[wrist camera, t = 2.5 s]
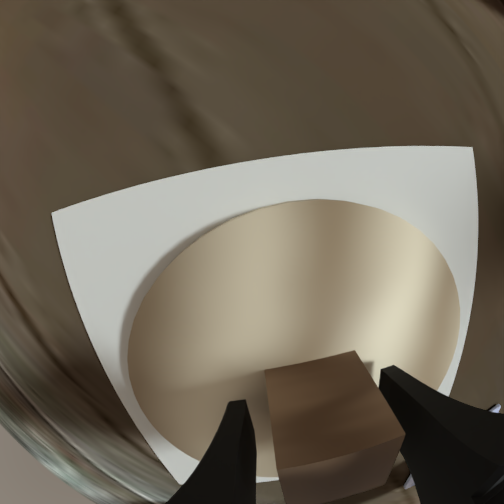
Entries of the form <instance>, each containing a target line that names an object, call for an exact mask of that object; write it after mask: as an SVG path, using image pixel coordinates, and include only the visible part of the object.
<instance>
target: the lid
mask: <svg viewBox="0 0 504 504" xmlns="http://www.w3.org/2000/svg"><path fill="white" fill-rule="evenodd" d="M459 329H460V304H459V296H458V291H457V287H456V284H455V280H454V277H453V274H452V272H451V270H450V268H449V266H448V264H447V262H446V260H445V258H444V257H443V255H442V254H441V253H440V251H439V250H438V249H437V247H436V246H435V244H434V243H433V242H432V241H431V240H429V239H428V238H427V237H426V236H425V235H424V234H423V233H422V232H421V231H420V230H419V229H417V228H416V227H414V226H413V225H411V224H410V223H408V222H407V221H405V220H404V219H402V218H400V217H398V216H395V215H393V214H391V213H388V212H386V211H384V210H381V209H379V208H375V207H371V206H367V205H362V204H358V203H354V202H349V201H343V200H328V199H308V200H296V201H287V202H282V203H278V204H274V205H269V206H265V207H261V208H258V209H255V210H252V211H250V212H247V213H245V214H242V215H239V216H237V217H234V218H232V219H230V220H228V221H226V222H224V223H223V224H221V225H219V226H217V227H215V228H214V229H212V230H210V231H208V232H207V233H205V234H203V235H202V236H201V237H200V238H198V239H197V240H196V241H194V242H193V243H192V244H190V245H189V246H188V247H187V248H185V249H184V250H183V251H182V252H181V253H180V254H179V255H178V256H177V257H176V258H175V259H174V260H173V261H172V262H171V263H170V264H169V265H168V266H167V267H166V268H165V270H164V271H163V272H162V273H161V274H160V275H159V276H158V278H157V279H156V281H155V282H154V284H153V285H152V286H151V288H150V289H149V291H148V292H147V294H146V295H145V297H144V298H143V300H142V303H141V305H140V307H139V309H138V311H137V314H136V316H135V318H134V321H133V325H132V328H131V332H130V336H129V342H128V356H127V362H128V371H129V379H130V382H131V386H132V389H133V392H134V395H135V397H136V400H137V402H138V404H139V406H140V408H141V410H142V411H143V413H144V414H145V416H146V417H147V419H148V420H149V422H150V423H151V424H152V426H153V427H154V428H155V429H156V430H157V431H158V432H159V433H160V434H161V435H162V436H163V437H164V438H165V439H166V440H167V441H168V442H170V443H171V444H172V445H173V446H175V447H176V448H177V449H179V450H180V451H182V452H184V453H185V454H187V455H188V456H190V457H192V458H194V459H196V460H198V461H201V459H202V458H203V456H204V454H205V452H206V451H207V449H208V447H209V446H210V444H211V442H212V440H213V438H214V436H215V434H216V432H217V430H218V427H219V425H220V423H221V420H222V418H223V415H224V413H225V410H226V407H227V404H228V403H229V402H230V401H236V400H244V399H246V402H247V406H248V409H249V413H250V416H251V420H252V423H253V427H254V430H255V439H256V449H257V467H256V476H257V477H279V481H280V484H281V488H282V492H283V495H284V499H285V502H286V504H321V503H325V502H330V501H334V500H337V499H341V498H345V497H348V496H352V495H355V494H358V493H361V492H364V491H367V490H370V489H373V488H376V487H379V486H382V485H384V484H385V483H386V481H387V479H388V476H389V474H390V472H391V470H392V467H393V465H394V463H395V460H396V458H397V456H398V453H399V451H400V448H401V445H402V443H403V440H404V437H405V432H404V430H403V428H402V427H401V425H400V423H399V422H398V420H397V418H396V416H395V415H394V413H393V411H392V410H391V408H390V406H389V405H388V403H387V401H386V400H385V398H384V396H383V395H382V393H381V391H380V390H379V388H378V387H379V379H380V370H381V369H383V368H386V367H389V366H392V365H395V366H397V367H398V368H400V369H402V370H403V371H405V372H406V373H408V374H409V375H411V376H413V377H414V378H416V379H417V380H419V381H421V382H422V383H424V384H426V385H427V386H429V387H431V388H433V389H434V390H436V391H437V390H438V388H439V386H440V385H441V383H442V381H443V379H444V377H445V376H446V374H447V371H448V369H449V367H450V364H451V362H452V359H453V356H454V353H455V349H456V346H457V341H458V335H459Z"/></svg>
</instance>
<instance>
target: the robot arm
mask: <svg viewBox="0 0 504 504" xmlns="http://www.w3.org/2000/svg"><path fill="white" fill-rule="evenodd" d="M378 388H379V390H380V391H381V393H382V395H383V396H384V398H385V400H386V401H387V403H388V405H389V406H390V408H391V410H392V411H393V413H394V415H395V416H396V418H397V420H398V422H399V423H400V425H401V427H402V428H403V430H404V432H405V437H404V440H403V443H402V445H401V448H400V452H401V454H402V455H403V457H404V459H405V461H406V463H407V465H408V468H409V470H410V473H411V474H410V476H409V478H408V479H407V481H406V483H405V484H404V488H405V489H407V488H409V487H411V486H413V485H415V487H416V490H417V493H418V496H419V499H420V503H421V504H504V414H501V413H499V412H498V411H499V410H500V408H501V406H500V404H497V405H496V406H495V407H493V408H492V409H491V410H489V411H487V410H483V409H479V408H476V407H473V406H470V405H467V404H464V403H462V402H459V401H457V400H455V399H452V398H450V397H448V396H446V395H444V394H442V393H440V392H438V391H436V390H434V389H433V388H431V387H429V386H427V385H426V384H424V383H422V382H421V381H419V380H417V379H416V378H414V377H413V376H411V375H409V374H408V373H406V372H405V371H403V370H402V369H400V368H398V367H397V366H395V365H392V366H389V367H386V368H383V369H381V370H380V379H379V387H378ZM256 467H257V449H256V439H255V430H254V427H253V423H252V420H251V416H250V413H249V409H248V406H247V402H246V399H244V400H236V401H230V402H229V403H228V404H227V407H226V410H225V413H224V415H223V418H222V420H221V423H220V425H219V427H218V430H217V432H216V434H215V436H214V438H213V440H212V442H211V444H210V446H209V447H208V449H207V451H206V452H205V454H204V456H203V458H202V459H201V461H200V462H199V464H198V465H197V467H196V468H195V470H194V471H193V473H192V474H191V475H190V477H189V478H188V479H187V480H186V482H185V483H184V484H183V485H182V486H181V488H180V489H179V490H178V491H177V492H176V493H175V494H174V495H173V496H172V497H171V498H170V499H169V500H168V501H167V502H166V503H165V504H256Z"/></svg>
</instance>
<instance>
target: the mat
mask: <svg viewBox="0 0 504 504" xmlns="http://www.w3.org/2000/svg"><path fill="white" fill-rule="evenodd" d="M308 199H328V200H343V201H349V202H354V203H358V204H362V205H367V206H371V207H375V208H379V209H381V210H384V211H386V212H388V213H391V214H393V215H395V216H398V217H400V218H402V219H404V220H405V221H407V222H408V223H410V224H411V225H413V226H414V227H416V228H417V229H419V230H420V231H421V232H422V233H423V234H424V235H425V236H426V237H427V238H428V239H429V240H431V241H432V242H433V243H434V244H435V246H436V247H437V249H438V250H439V251H440V253H441V254H442V255H443V257H444V258H445V260H446V262H447V264H448V266H449V268H450V270H451V272H452V274H453V277H454V280H455V284H456V287H457V291H458V296H459V304H460V329H459V335H458V341H457V346H456V349H455V353H454V356H453V359H452V362H451V364H450V367H449V369H448V371H447V374H446V376H445V377H444V379H443V381H442V383H441V385H440V386H439V388H438V390H437V391H438V392H440V393H442V394H444V395H446V396H449V394H450V391H451V388H452V385H453V382H454V379H455V375H456V372H457V369H458V365H459V362H460V358H461V354H462V350H463V346H464V342H465V338H466V333H467V328H468V324H469V318H470V313H471V307H472V300H473V293H474V285H475V276H476V265H477V250H478V198H477V183H476V172H475V163H474V155H473V148H472V147H454V146H395V147H372V148H356V149H343V150H331V151H321V152H312V153H303V154H295V155H287V156H280V157H273V158H266V159H260V160H253V161H247V162H242V163H236V164H230V165H225V166H220V167H215V168H210V169H205V170H200V171H195V172H191V173H186V174H182V175H177V176H173V177H169V178H165V179H161V180H157V181H153V182H149V183H145V184H141V185H138V186H134V187H130V188H127V189H123V190H120V191H116V192H113V193H110V194H106V195H103V196H100V197H97V198H93V199H90V200H87V201H84V202H81V203H78V204H75V205H72V206H69V207H66V208H64V209H61V210H58V211H55V212H53V213H51V214H52V219H53V224H54V228H55V233H56V237H57V241H58V245H59V249H60V253H61V257H62V261H63V264H64V268H65V271H66V274H67V278H68V281H69V284H70V287H71V290H72V293H73V296H74V299H75V302H76V304H77V307H78V310H79V313H80V315H81V318H82V320H83V323H84V325H85V328H86V330H87V333H88V335H89V337H90V340H91V342H92V344H93V347H94V349H95V351H96V353H97V355H98V357H99V360H100V362H101V364H102V366H103V368H104V370H105V372H106V374H107V376H108V378H109V380H110V382H111V383H112V385H113V387H114V389H115V391H116V393H117V394H118V396H119V398H120V400H121V401H122V403H123V405H124V407H125V408H126V410H127V412H128V413H129V415H130V417H131V418H132V420H133V421H134V423H135V425H136V426H137V428H138V429H139V431H140V432H141V434H142V435H143V437H144V438H145V440H146V441H147V442H148V444H149V445H150V447H151V448H152V450H153V451H154V452H155V454H156V455H157V456H158V458H159V459H160V460H161V462H162V463H163V464H164V466H165V467H166V468H167V469H168V471H169V472H170V473H171V474H172V476H173V477H174V478H175V479H176V481H177V482H178V483H179V484H184V483H185V482H186V480H187V479H188V478H189V477H190V475H191V474H192V473H193V471H194V470H195V468H196V467H197V465H198V464H199V462H200V461H198V460H196V459H194V458H192V457H190V456H188V455H187V454H185V453H184V452H182V451H180V450H179V449H177V448H176V447H175V446H173V445H172V444H171V443H170V442H168V441H167V440H166V439H165V438H164V437H163V436H162V435H161V434H160V433H159V432H158V431H157V430H156V429H155V428H154V427H153V426H152V424H151V423H150V422H149V420H148V419H147V417H146V416H145V414H144V413H143V411H142V410H141V408H140V406H139V404H138V402H137V400H136V397H135V395H134V392H133V389H132V386H131V382H130V379H129V371H128V362H127V356H128V342H129V336H130V332H131V328H132V325H133V321H134V318H135V316H136V314H137V311H138V309H139V307H140V305H141V303H142V300H143V298H144V297H145V295H146V294H147V292H148V291H149V289H150V288H151V286H152V285H153V284H154V282H155V281H156V279H157V278H158V276H159V275H160V274H161V273H162V272H163V271H164V270H165V268H166V267H167V266H168V265H169V264H170V263H171V262H172V261H173V260H174V259H175V258H176V257H177V256H178V255H179V254H180V253H181V252H182V251H183V250H184V249H185V248H187V247H188V246H189V245H190V244H192V243H193V242H194V241H196V240H197V239H198V238H200V237H201V236H202V235H203V234H205V233H207V232H208V231H210V230H212V229H214V228H215V227H217V226H219V225H221V224H223V223H224V222H226V221H228V220H230V219H232V218H234V217H237V216H239V215H242V214H245V213H247V212H250V211H252V210H255V209H258V208H261V207H265V206H269V205H274V204H278V203H282V202H287V201H296V200H308ZM274 480H279V477H257V476H256V482H266V481H274Z"/></svg>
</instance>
